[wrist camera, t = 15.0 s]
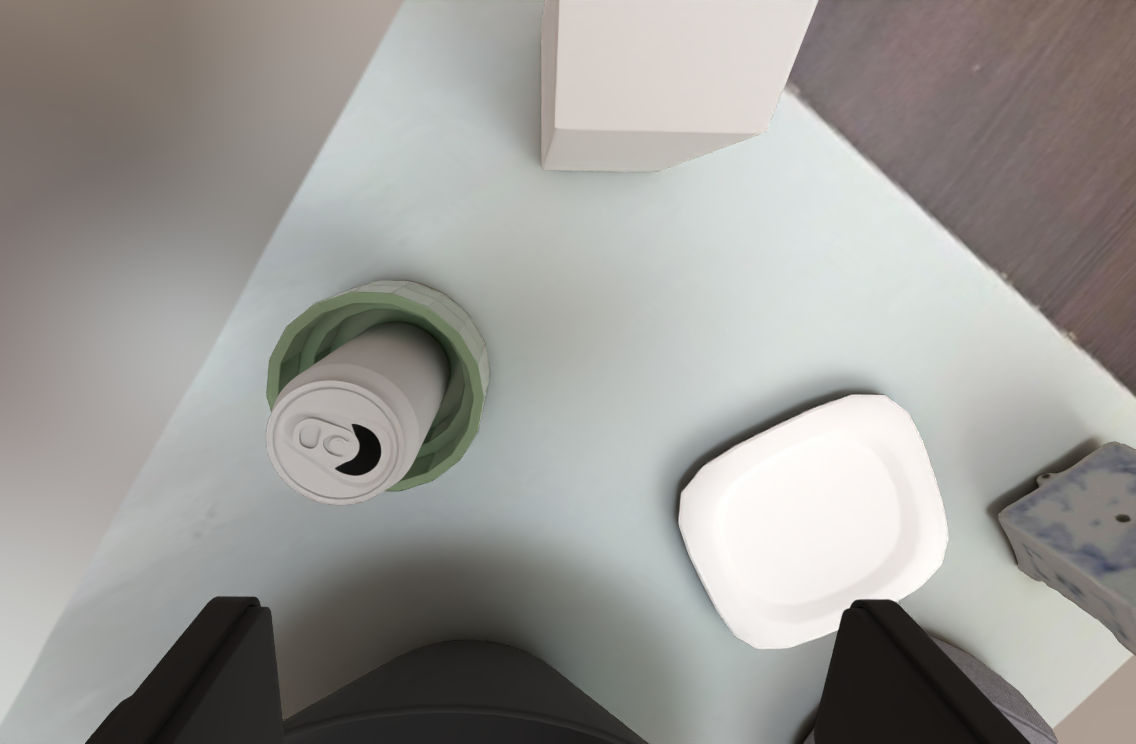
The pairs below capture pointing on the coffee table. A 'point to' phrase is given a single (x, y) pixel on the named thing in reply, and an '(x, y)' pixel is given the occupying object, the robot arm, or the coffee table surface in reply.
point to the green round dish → (411, 305)
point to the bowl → (459, 703)
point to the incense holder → (1084, 536)
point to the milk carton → (661, 78)
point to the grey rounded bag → (996, 697)
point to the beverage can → (358, 414)
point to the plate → (814, 520)
